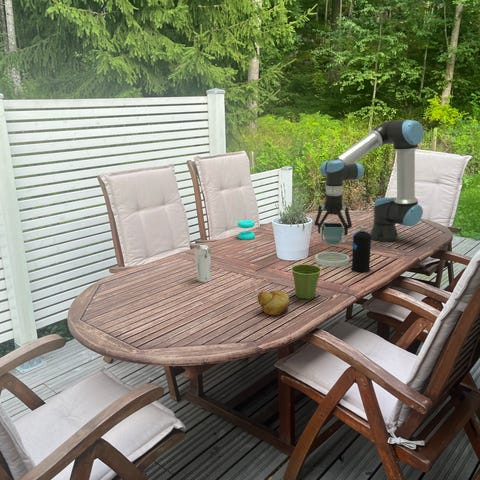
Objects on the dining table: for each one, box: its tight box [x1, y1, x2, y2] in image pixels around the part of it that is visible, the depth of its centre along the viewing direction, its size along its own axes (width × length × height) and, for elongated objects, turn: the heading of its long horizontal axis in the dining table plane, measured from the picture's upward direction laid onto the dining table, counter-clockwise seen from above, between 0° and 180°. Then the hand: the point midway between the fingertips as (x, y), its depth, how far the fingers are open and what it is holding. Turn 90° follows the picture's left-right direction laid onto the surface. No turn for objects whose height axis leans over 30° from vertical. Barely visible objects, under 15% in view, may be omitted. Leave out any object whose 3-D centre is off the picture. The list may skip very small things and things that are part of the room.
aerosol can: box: [350, 225, 372, 274], centre depth 197 cm, size 8×8×20 cm
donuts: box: [237, 219, 256, 241], centre depth 255 cm, size 10×10×10 cm
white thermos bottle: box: [194, 244, 212, 283], centre depth 191 cm, size 7×7×15 cm
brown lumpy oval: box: [257, 289, 291, 316], centre depth 160 cm, size 13×10×8 cm
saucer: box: [314, 251, 351, 268], centre depth 212 cm, size 16×16×2 cm
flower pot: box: [322, 222, 344, 245], centre depth 208 cm, size 9×9×9 cm
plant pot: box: [290, 263, 323, 300], centre depth 171 cm, size 12×12×11 cm
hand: (332, 240), depth 209 cm, fingers closed on flower pot, 10 cm apart
